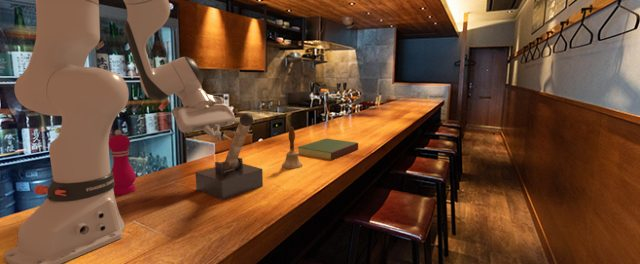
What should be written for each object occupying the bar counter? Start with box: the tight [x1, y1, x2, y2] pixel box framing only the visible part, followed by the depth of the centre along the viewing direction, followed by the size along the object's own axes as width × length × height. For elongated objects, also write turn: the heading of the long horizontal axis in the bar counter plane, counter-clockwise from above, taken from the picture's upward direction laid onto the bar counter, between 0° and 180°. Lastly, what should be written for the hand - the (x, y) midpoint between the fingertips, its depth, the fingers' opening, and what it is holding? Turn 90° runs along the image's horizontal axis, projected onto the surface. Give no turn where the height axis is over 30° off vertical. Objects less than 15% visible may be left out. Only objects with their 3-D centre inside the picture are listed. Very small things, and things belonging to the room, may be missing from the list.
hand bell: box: [281, 126, 303, 170], centre depth 138 cm, size 8×8×16 cm
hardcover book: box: [297, 138, 359, 161], centre depth 164 cm, size 25×19×4 cm
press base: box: [195, 157, 264, 201], centre depth 112 cm, size 14×16×9 cm
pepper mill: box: [109, 129, 137, 196], centre depth 108 cm, size 7×7×20 cm
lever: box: [220, 112, 254, 171], centre depth 107 cm, size 4×6×22 cm
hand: (216, 136), depth 114 cm, fingers closed
